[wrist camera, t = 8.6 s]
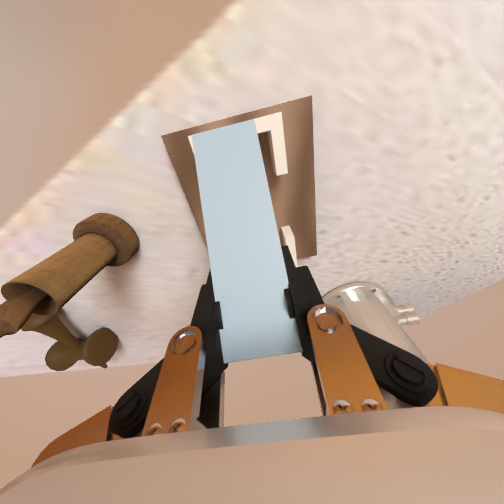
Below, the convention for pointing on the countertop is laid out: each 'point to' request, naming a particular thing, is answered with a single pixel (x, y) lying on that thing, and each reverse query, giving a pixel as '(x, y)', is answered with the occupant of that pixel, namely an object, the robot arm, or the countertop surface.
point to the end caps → (275, 161)
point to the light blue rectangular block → (243, 244)
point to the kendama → (72, 343)
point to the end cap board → (280, 187)
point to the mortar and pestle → (67, 270)
